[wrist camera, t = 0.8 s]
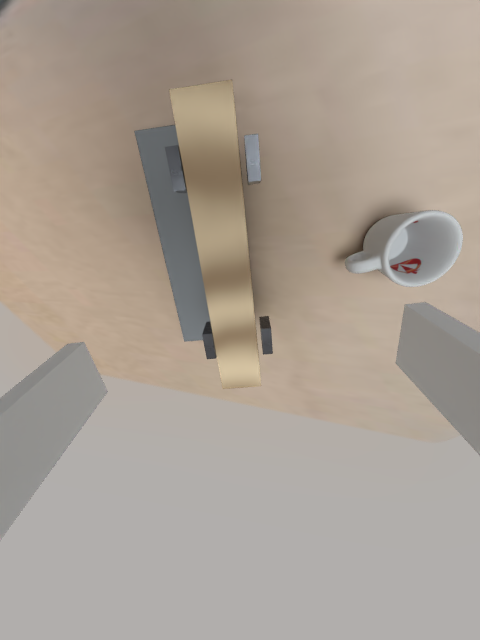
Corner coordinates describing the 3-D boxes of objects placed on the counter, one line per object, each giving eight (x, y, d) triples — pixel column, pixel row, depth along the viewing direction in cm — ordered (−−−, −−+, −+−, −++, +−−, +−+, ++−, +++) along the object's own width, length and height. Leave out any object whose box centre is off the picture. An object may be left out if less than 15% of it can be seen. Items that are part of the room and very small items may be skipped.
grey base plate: (135, 131, 29) (134, 130, 28) (182, 125, 28) (182, 124, 28) (184, 340, 41) (184, 341, 40) (218, 337, 40) (218, 338, 40)
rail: (186, 115, 20) (168, 89, 16) (235, 108, 20) (232, 79, 15) (226, 361, 30) (222, 389, 26) (258, 358, 30) (261, 386, 25)
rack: (193, 154, 30) (159, 122, 18) (252, 146, 29) (256, 107, 17) (220, 320, 39) (209, 370, 27) (264, 316, 38) (273, 365, 27)
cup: (340, 285, 36) (364, 305, 29) (328, 231, 33) (351, 239, 26) (418, 258, 34) (464, 272, 27) (413, 198, 31) (463, 197, 24)
